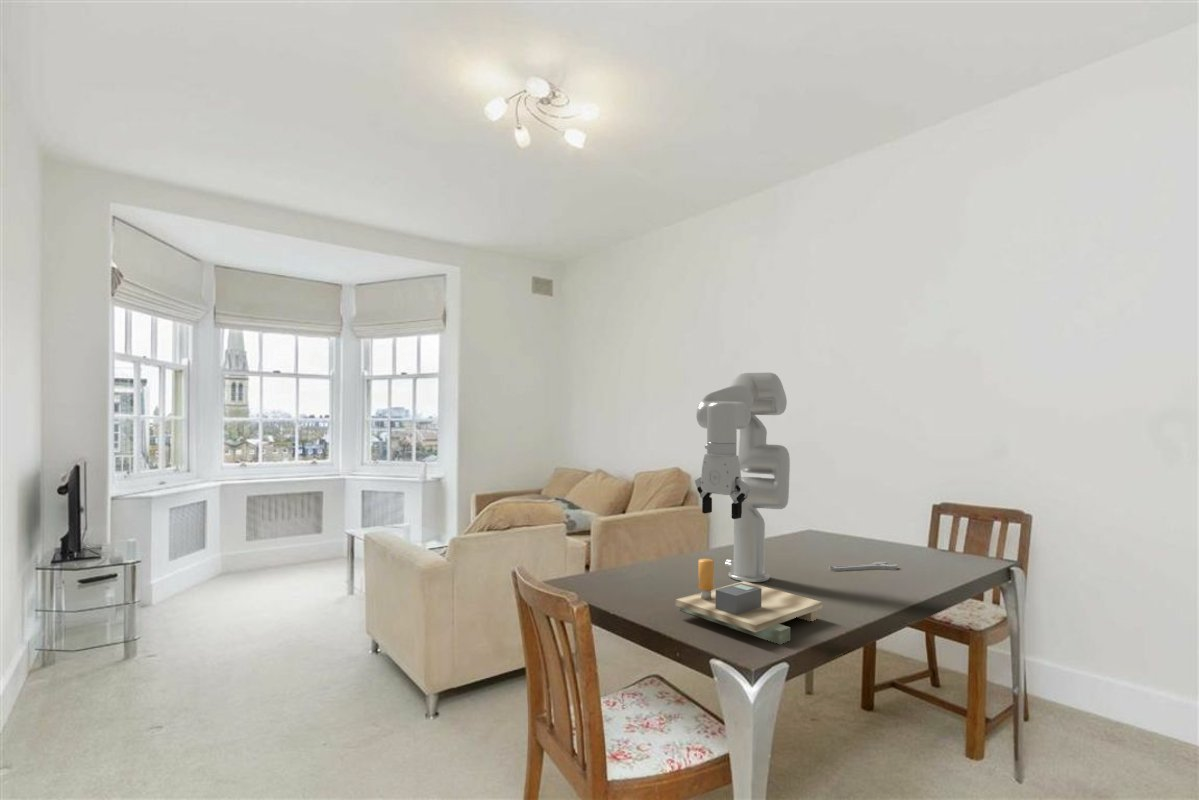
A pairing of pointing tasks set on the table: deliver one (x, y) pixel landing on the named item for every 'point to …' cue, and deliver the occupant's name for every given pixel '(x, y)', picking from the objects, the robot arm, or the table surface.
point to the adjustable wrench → (864, 567)
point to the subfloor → (756, 612)
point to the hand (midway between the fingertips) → (721, 515)
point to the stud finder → (738, 598)
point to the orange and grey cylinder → (706, 577)
